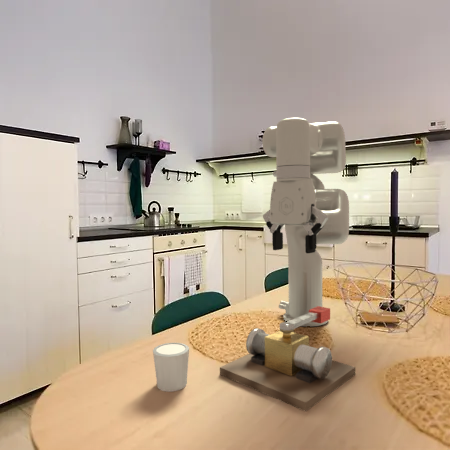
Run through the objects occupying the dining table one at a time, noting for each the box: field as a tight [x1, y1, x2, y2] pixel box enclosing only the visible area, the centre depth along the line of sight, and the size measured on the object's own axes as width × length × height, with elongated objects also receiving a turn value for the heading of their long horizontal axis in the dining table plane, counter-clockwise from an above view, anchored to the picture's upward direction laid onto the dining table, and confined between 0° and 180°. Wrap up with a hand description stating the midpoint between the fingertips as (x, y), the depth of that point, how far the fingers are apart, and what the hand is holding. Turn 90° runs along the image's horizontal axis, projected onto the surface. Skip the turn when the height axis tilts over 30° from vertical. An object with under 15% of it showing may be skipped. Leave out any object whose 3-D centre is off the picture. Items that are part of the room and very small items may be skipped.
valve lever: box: [279, 306, 331, 333], centre depth 81 cm, size 3×16×2 cm, turn 136°
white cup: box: [152, 342, 190, 393], centre depth 73 cm, size 7×7×7 cm
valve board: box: [219, 353, 356, 412], centre depth 77 cm, size 20×18×2 cm
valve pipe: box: [245, 327, 333, 383], centre depth 76 cm, size 17×6×7 cm, turn 46°
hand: (293, 250), depth 88 cm, fingers open, 8 cm apart
